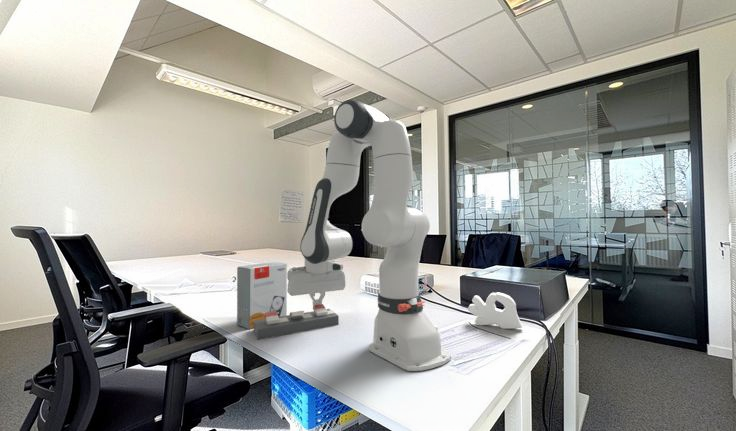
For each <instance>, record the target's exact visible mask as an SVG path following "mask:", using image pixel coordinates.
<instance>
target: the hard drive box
mask: <svg viewBox="0 0 736 431" xmlns="http://www.w3.org/2000/svg"><path fill="white" fill-rule="evenodd" d="M287 267H288V263H285V262H279V261H272V262H264V263H256V264H248V265H240V266H237V268H236V272H237V274H236V281H237V282H236V287H237V288H236V297H237V298H236V325H237V326H240V327H242V328H245V329H247V330H250V329H254V321H255V320H262V319H266V318H265V313H266V312H273V311H277V314H278V317H281V316H287V311H288V310H287V306H288V305H287V304H288V303H287V302H288V301H287V300H288V298H287V297H288V291H287V289H288V283H287V282H288V278H287V273H288V271H287V270H288V268H287Z"/></svg>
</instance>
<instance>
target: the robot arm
mask: <svg viewBox="0 0 736 431" xmlns="http://www.w3.org/2000/svg"><path fill="white" fill-rule="evenodd" d="M333 120H334V121H333V122H334V126H335V129H336V130H337V131H336V132H334V133H333V134H332V135H331V137H330V139H329V143H328V148H327V153H326V160H325V169H324V171H323V175H322V177H321V179H320V180H319V181H318V182H317V183H316V185H315V187H314V190H313V191H314V192H313V196H312V198H311V204H310V209H309V213H308V218H307V222H306V226H305V229H304V230H305V231H304V232H303V235H302V238H301V240H300V245H299V246H300V248H299V249H300V252H301V254H302V256H303V258H304V266H298V267H292V268H290V269H289V270H288V271H287V282H288V283H287V294H289V296H291V297H294V296H302V295H309V297H310V299H311V300H312V307H313V306H317V305H322V304H323V299H324V298H325V296H326V292H327V293H328V292H336V291H343V290H344V289H345V288H346V283H347V282H346V275H345V272H344V271H343V270H344V265H343V264H342V263H340V262H337V261H334V260H337V259H342V258H343V259H344V258H345V257H347V256H350V254H351V252H352V250H353V246H354V245H353V244H354V241H353V237H352V236H351V234H350V233H349V232H348V231H347V230H344V229H341V228H338V227H337V226H335V225H333V224H332V223H330V220H328V219H329V213H330V209H331V206H332V204H333V202H334V201H335V200H336V199H338V198H339V197H341V196H342V195H345V194H347V193H349V192H351V191H352V190H353V189H354V188H355V187H356V186H357V184H358V181H359V177H360V170H361V169H360V168H361V167H360V166H361V156H362V152H363V151H364V150H365V149H366V150H368V151H372V160H373V174H374V175H373V176H374V192H373V197H372V201H371V205H370V208H369V209H368V211H367V212H366V213H365V215H364V216H363V218H362V221H361V231H362V232H361V233H362V235H363V237H364V239H365V240H366V242H368V243H369V244H371V245H373V246H377V247H381V248H386V249H387V250H386V254H385V256H384V258H383V260H382V261H381V263H380V265H379V268H378V273H379V274H378V278H379V279H378V282H379V283H378V284H379V286H378V287H379V289H378V290H379V292H378V294H377V307H378V311H377V314H376V316H375V317H374V323H373V335H372V336H373V338H372V343H371V344H370V345H369V352H370V353H373V354H374V355H376V356H378V357H380V358H382V359H384V360H386V361H388V362H390V363H391V364H394V365H395V366H397V367H398V368H401V369H403V370H405V371H408V372H418V371H419V372H421V371H426V370H430V369H433V368H437V367H441V366H443V365H446V364H447V363H449V362H450V360H451V359H452V355H451V353H450V352H449V351H447V350H446V349H445V348H444V347H442V342H441V336H440V333H439V331H438V330H439V329H438V327H437V325H435V324H433V323H432V321H431V320H430V319H429V317H428V316H427V314H426V313H425V312H424V310H423V309H424V307H423V306H425V301H423V300H422V298H421V294H419V268H420V261H421V255H422V250H423V246H424V241H425V238H426V237H427V235H428V233H429V231H430V226H431V224H430V220H429V218H428V216H427V215H426V214H425V213H424V212H423V211H421V210H419V209H417V208H414V207H410V206H408V199H409V194H410V191H411V189H412V188H413V186H414V182H415V181H414V180H415V179H414V169H413V157H412V156H413V155H412V150H411V144H410V138H409V135H408V130H407V128H406V126H405V124H404V123H403V122H401V121H400V120H397V119H392V118H391V117H390V116H389V115H387V114H386V113H383V112H381V111H380V110H378V109H377V108H375V107H374V106H372V105H369V104H366V103H363V102H361V101H360V100H356V99H355V100H354V99H346V100H344V101H342V102H341V103H340V104H339V106H337V108H336V109H335V113H334V118H333ZM316 294H319V297H318V298H317V299H316V298H315V297H316Z"/></svg>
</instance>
